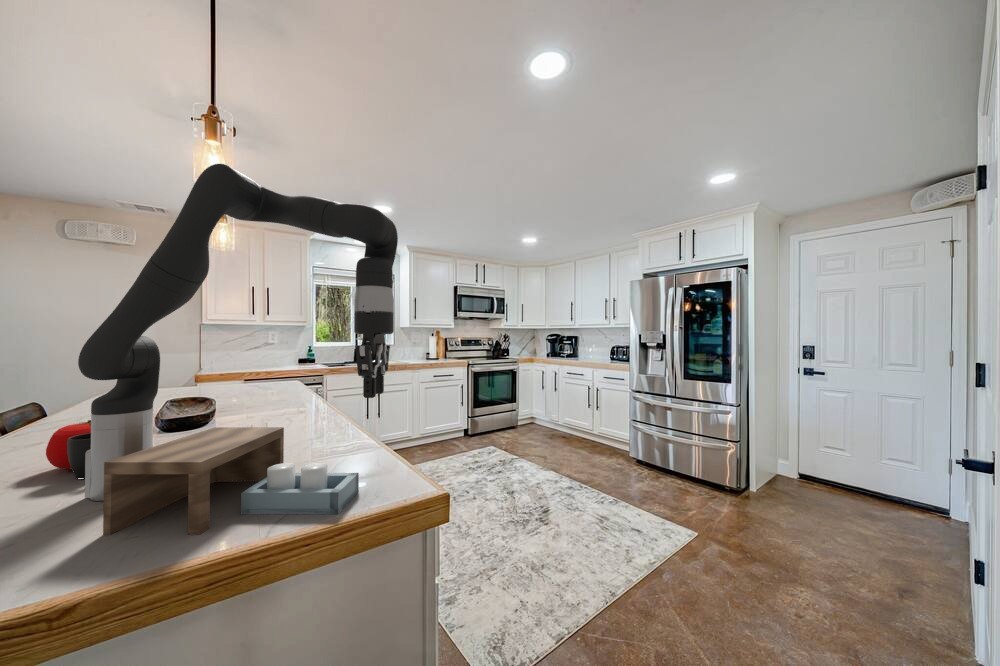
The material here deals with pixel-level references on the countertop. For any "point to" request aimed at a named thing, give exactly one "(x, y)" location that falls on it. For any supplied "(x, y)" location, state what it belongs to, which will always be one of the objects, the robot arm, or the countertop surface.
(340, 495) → the tray
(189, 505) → the counter shelf
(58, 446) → the tomato
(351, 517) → the countertop surface
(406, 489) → the countertop surface
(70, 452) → the mug
